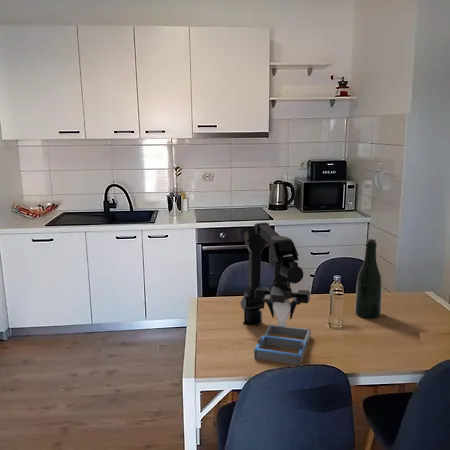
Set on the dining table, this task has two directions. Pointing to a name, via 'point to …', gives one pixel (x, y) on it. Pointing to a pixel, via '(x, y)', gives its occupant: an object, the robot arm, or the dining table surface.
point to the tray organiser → (282, 344)
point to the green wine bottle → (369, 285)
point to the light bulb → (282, 312)
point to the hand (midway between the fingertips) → (282, 317)
